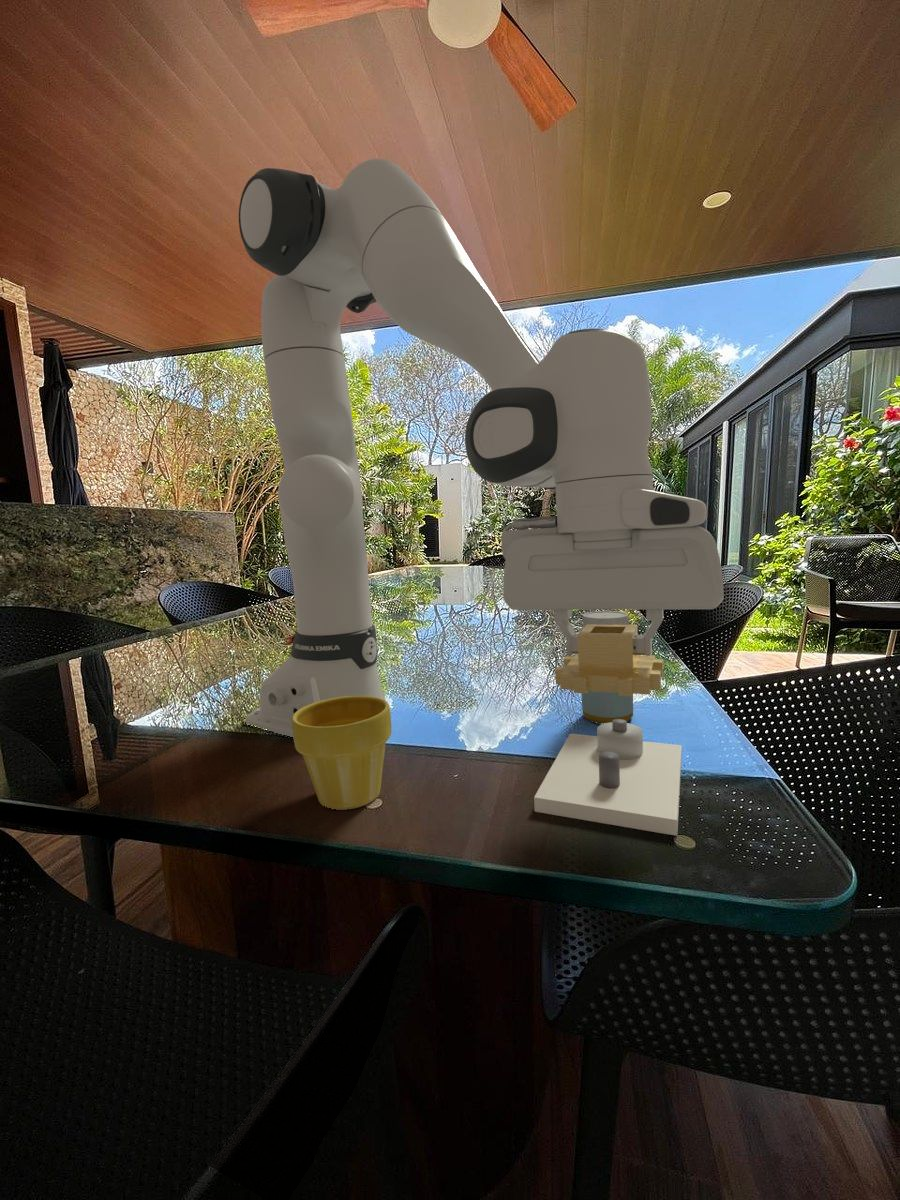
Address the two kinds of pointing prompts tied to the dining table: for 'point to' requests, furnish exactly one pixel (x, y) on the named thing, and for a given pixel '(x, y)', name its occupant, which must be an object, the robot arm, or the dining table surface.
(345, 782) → the plant pot
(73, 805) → the dining table surface
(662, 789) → the carrier plate
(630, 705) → the bottle
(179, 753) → the dining table surface
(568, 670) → the gear
